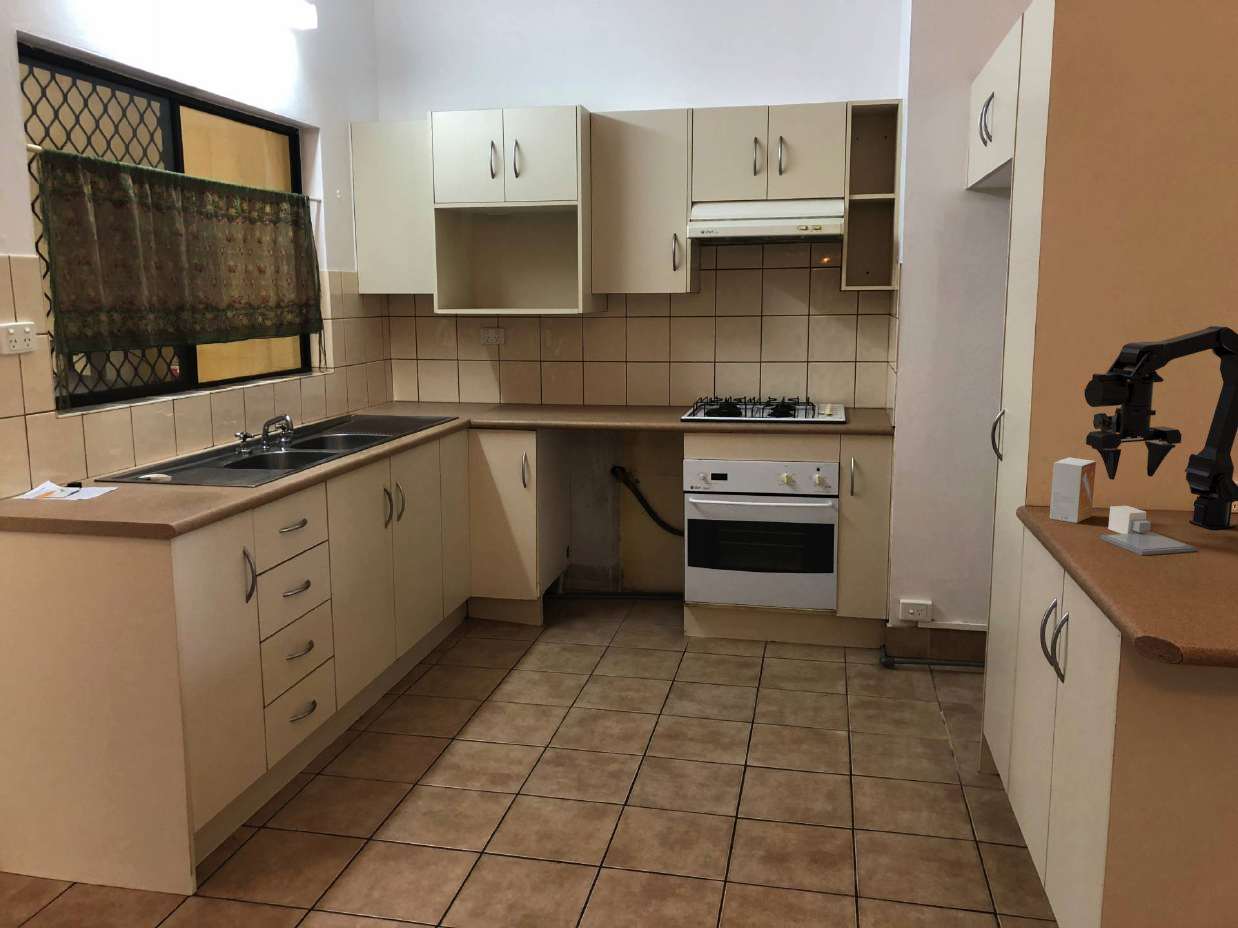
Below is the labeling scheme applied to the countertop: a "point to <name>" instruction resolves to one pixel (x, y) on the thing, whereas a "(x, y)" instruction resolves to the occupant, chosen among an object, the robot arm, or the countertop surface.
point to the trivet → (1147, 543)
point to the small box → (1072, 489)
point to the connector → (1128, 520)
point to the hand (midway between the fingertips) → (1130, 477)
